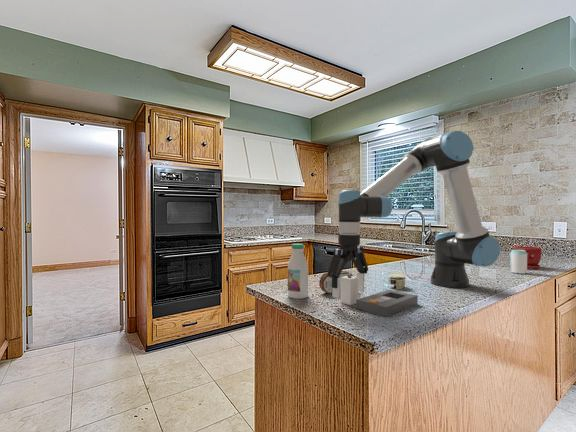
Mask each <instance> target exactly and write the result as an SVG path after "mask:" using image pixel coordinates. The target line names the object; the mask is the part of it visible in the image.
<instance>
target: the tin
mask: <svg viewBox="0 0 576 432" xmlns="http://www.w3.org/2000/svg"><path fill="white" fill-rule="evenodd" d="M327 274H328V271H327V272H325V273H323V274H322V275H321V277H320V279H319V283H318V284H319V288H320V290H321V291H322V292H324V293H326V294H330V295H332V290H333V288H332V278H330V277H328V276H327ZM331 274H332V273H331ZM347 274H351V276H353V277H354V275H353V273H350V272H349V271H347V270H342V272H341V274H340V276H339V279H340V277H344V276H347Z"/></svg>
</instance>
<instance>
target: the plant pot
mask: <svg viewBox="0 0 576 432" xmlns="http://www.w3.org/2000/svg"><path fill="white" fill-rule="evenodd" d="M512 250H525V251H526V253H527V270H537V269H540V267H541V265H540V264H539V263H540V262H541V260H542V259H541V258H542V247H540V246H539V247H538V246H512ZM512 250H511V251H512Z"/></svg>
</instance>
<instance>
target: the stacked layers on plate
mask: <svg viewBox="0 0 576 432" xmlns="http://www.w3.org/2000/svg"><path fill="white" fill-rule="evenodd" d="M388 276H389V277H388V278H387V279H388V285H392V286H393V288H395V289H396V290H403V288H406V284H407V282H406V279H407V278H406V277H405V276H406V274H401V273H393V274H388Z"/></svg>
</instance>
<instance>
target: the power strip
mask: <svg viewBox="0 0 576 432" xmlns="http://www.w3.org/2000/svg"><path fill="white" fill-rule="evenodd" d="M418 296H419V295H417V294H412V293H406V292H403V291H402V292H401V291H398V290H397V291H396V290H392V289H387V290H384V291H380V292H377V293H374V294H371V295H368V296H364V297H361V298H358V299H357V300H356V304H355V305H356V310H360V311H364V312H367V313H370V314H375V315H378V316H380V317H386V318H387V317H390V316H392V315H395V314H397V313H400V312H402V311H405V310H407V309H410V308H412V307H414V306H417V305H418V303H419V302H418V298H419V297H418Z"/></svg>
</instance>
